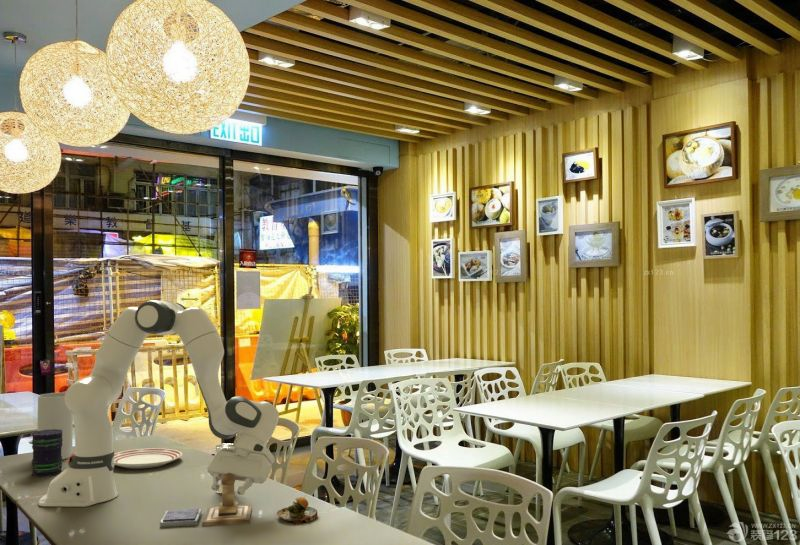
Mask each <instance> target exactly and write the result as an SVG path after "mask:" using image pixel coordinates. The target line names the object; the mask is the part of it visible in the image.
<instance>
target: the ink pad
mask: <svg viewBox="0 0 800 545" xmlns="http://www.w3.org/2000/svg"><path fill="white" fill-rule="evenodd" d="M201 516H202V508H186V509H185V508H184V509H183V508H182V509H168V510H165V513H164V515H163V516H162V518H161V519H160V522H159V528H175V527H188V526H189V527H193V526H198V523H199V521H200V518H201Z"/></svg>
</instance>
